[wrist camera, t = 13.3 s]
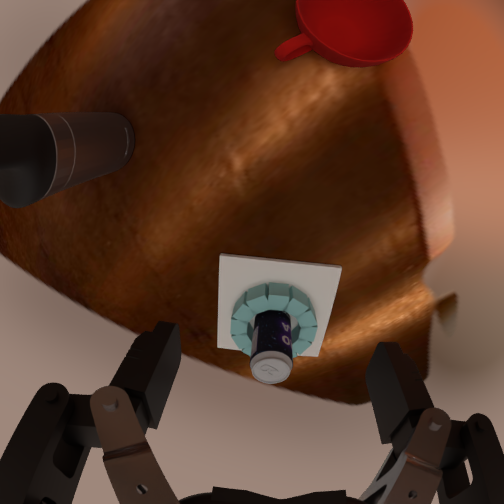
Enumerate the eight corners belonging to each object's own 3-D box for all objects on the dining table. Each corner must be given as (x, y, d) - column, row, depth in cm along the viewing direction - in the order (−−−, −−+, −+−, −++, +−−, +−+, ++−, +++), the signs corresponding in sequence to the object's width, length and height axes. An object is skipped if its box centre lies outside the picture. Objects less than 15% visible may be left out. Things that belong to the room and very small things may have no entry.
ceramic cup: (246, 35, 30) (238, 7, 21) (345, -13, 25) (363, -45, 16) (305, 108, 33) (316, 100, 24) (400, 56, 29) (434, 40, 19)
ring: (231, 343, 48) (229, 356, 45) (235, 278, 43) (232, 290, 40) (305, 349, 48) (307, 363, 45) (321, 287, 43) (324, 299, 39)
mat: (218, 344, 50) (217, 347, 49) (220, 253, 42) (219, 255, 42) (317, 353, 49) (317, 356, 48) (340, 265, 42) (342, 268, 41)
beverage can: (276, 336, 47) (275, 390, 36) (248, 320, 46) (240, 374, 35) (297, 314, 45) (302, 368, 34) (268, 296, 44) (266, 350, 33)
